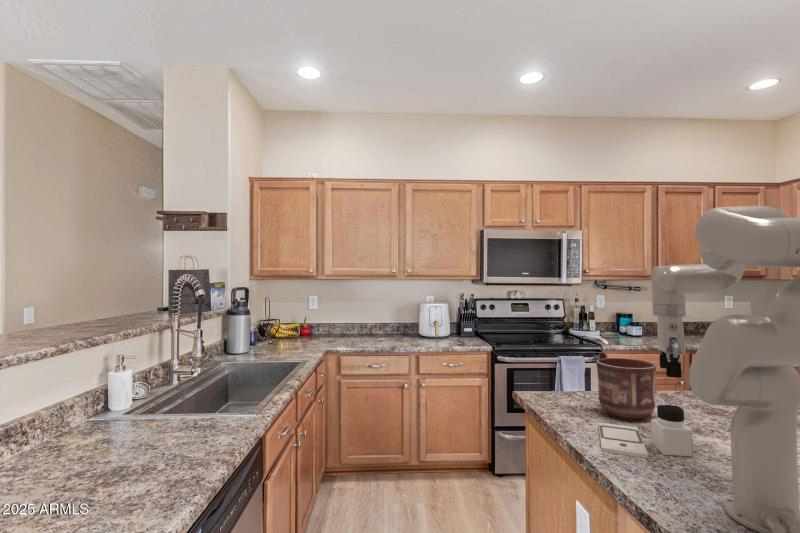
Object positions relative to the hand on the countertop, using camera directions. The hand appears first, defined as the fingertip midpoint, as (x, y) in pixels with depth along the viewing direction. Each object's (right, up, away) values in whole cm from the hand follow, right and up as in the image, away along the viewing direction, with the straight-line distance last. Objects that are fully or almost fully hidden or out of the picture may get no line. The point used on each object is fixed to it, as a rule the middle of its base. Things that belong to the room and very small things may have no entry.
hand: (670, 372), depth 107 cm
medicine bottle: (0, -21, -1) cm, 21 cm away
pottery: (+3, -22, +26) cm, 34 cm away
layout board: (-10, -21, +6) cm, 24 cm away
